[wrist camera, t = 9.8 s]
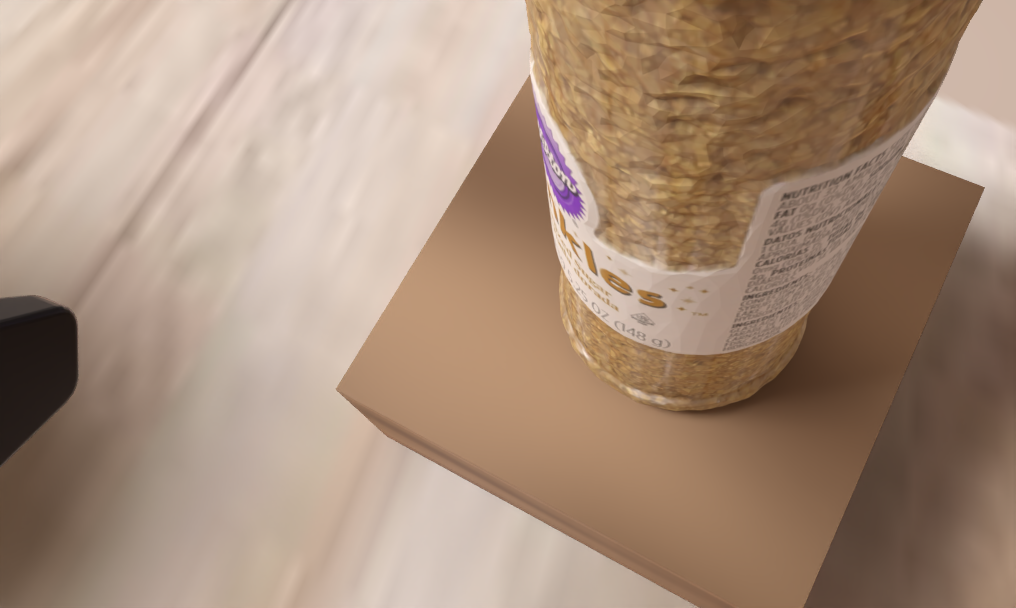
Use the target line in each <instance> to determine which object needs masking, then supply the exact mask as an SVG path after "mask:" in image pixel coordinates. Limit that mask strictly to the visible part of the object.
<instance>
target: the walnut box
mask: <svg viewBox="0 0 1016 608" xmlns="http://www.w3.org/2000/svg"><path fill="white" fill-rule="evenodd" d="M984 188H985V187H982V186H980V185H977V184H974V183H972V182H969V181H967V180H964V179H961V178H959V177H956V176H953V175H951V174H948V173H945V172H943V171H940V170H937V169H935V168H932V167H930V166H927V165H924V164H922V163H919V162H916V161H914V160H911V159H908V158H906V157H903V156H901V158H900V160H899V162H898V163H897V165H896V167H895V169H894V171H893V172H892V174H891V176H890V178H889V180H888V181H887V183H886V185H885V187H884V188H883V190H882V192H881V194H880V196H879V197H878V199H877V201H876V203H875V205H874V206H873V208H872V210H871V212H870V213H869V215H868V217H867V219H866V221H865V222H864V224H863V226H862V228H861V230H860V231H859V233H858V235H857V237H856V239H855V240H854V242H853V244H852V246H851V248H850V249H849V251H848V253H847V255H846V257H845V258H844V260H843V262H842V264H841V265H840V267H839V269H838V271H837V273H836V274H835V276H834V278H833V280H832V282H831V283H830V285H829V287H828V288H827V289H826V291H825V292H824V294H823V295H822V296H821V298H820V299H819V301H818V302H817V304H816V305H815V306H814V307H813V308H812V309H811V311H810V313H809V315H808V318H807V324H806V329H805V332H804V335H803V338H802V340H801V342H800V344H799V346H798V349H797V351H796V352H795V354H794V356H793V357H792V359H791V360H790V361H789V363H788V364H787V365H786V366H785V368H784V369H783V370H782V371H781V372H780V373H779V374H778V375H777V376H776V377H775V378H774V379H773V380H771V381H770V382H768V383H767V384H765V385H764V386H763V387H761V388H760V389H759V390H758V391H757V392H756V393H754V394H753V395H752V396H751V397H749V398H746V399H743V400H740V401H737V402H734V403H730V404H727V405H725V406H721V407H715V408H712V409H706V410H682V411H672V410H666V409H661V408H658V407H654V406H650V405H645V404H641V403H637V402H636V401H634V400H632V399H631V398H629V397H627V396H625V395H623V394H621V393H620V392H618V391H617V390H615V389H614V388H612V387H611V386H609V385H608V384H606V383H605V382H603V381H602V380H600V379H599V378H598V377H597V376H596V375H595V374H594V373H593V372H592V371H591V370H590V369H589V367H588V366H587V365H586V364H585V363H584V361H583V360H582V359H581V357H580V356H579V355H578V354H577V353H576V351H575V350H574V348H573V347H572V344H571V341H570V338H569V335H568V333H567V331H566V329H565V326H564V324H563V321H562V317H561V310H560V296H559V282H560V274H561V269H562V268H561V264H560V260H559V258H558V254H557V251H556V247H555V242H554V236H553V231H552V224H551V216H550V208H549V200H548V192H547V180H546V173H545V166H544V160H543V153H542V147H541V140H540V134H539V127H538V120H537V114H536V107H535V101H534V94H533V88H532V82H531V76H530V75H529V77H528V78H527V80H526V82H525V83H524V85H523V86H522V88H521V90H520V91H519V93H518V95H517V96H516V98H515V99H514V101H513V103H512V104H511V106H510V107H509V109H508V111H507V112H506V114H505V116H504V117H503V119H502V120H501V122H500V124H499V125H498V127H497V129H496V130H495V132H494V133H493V135H492V137H491V138H490V140H489V142H488V143H487V145H486V146H485V148H484V150H483V151H482V153H481V155H480V156H479V158H478V159H477V161H476V163H475V164H474V166H473V168H472V169H471V171H470V172H469V174H468V176H467V177H466V179H465V181H464V182H463V184H462V185H461V187H460V189H459V190H458V192H457V193H456V195H455V197H454V198H453V200H452V202H451V203H450V205H449V206H448V208H447V210H446V211H445V213H444V215H443V216H442V218H441V219H440V221H439V223H438V224H437V226H436V228H435V229H434V231H433V232H432V234H431V236H430V237H429V239H428V241H427V242H426V244H425V245H424V247H423V249H422V250H421V252H420V254H419V255H418V257H417V258H416V260H415V262H414V263H413V265H412V267H411V268H410V270H409V271H408V273H407V275H406V276H405V278H404V279H403V281H402V283H401V284H400V286H399V288H398V289H397V291H396V292H395V294H394V296H393V297H392V299H391V301H390V302H389V304H388V305H387V307H386V309H385V310H384V312H383V314H382V315H381V317H380V318H379V320H378V322H377V323H376V325H375V327H374V328H373V330H372V331H371V333H370V335H369V336H368V338H367V340H366V341H365V343H364V344H363V346H362V348H361V349H360V351H359V353H358V354H357V356H356V357H355V359H354V361H353V362H352V364H351V365H350V367H349V369H348V370H347V372H346V374H345V375H344V377H343V378H342V380H341V382H340V383H339V385H338V387H337V388H336V390H337V391H338V392H339V393H340V394H341V395H342V396H343V397H345V398H346V399H347V400H348V401H349V402H350V403H351V404H352V405H353V406H354V407H355V408H357V409H358V410H359V411H360V412H361V413H362V414H363V415H364V416H365V417H366V418H367V419H369V420H370V421H371V422H372V423H373V424H374V425H375V426H376V427H377V428H378V429H379V430H381V431H382V432H383V433H384V434H385V435H386V436H387V437H389V438H391V439H393V440H395V441H396V442H398V443H400V444H402V445H404V446H405V447H407V448H409V449H411V450H413V451H415V452H416V453H418V454H420V455H422V456H424V457H426V458H427V459H429V460H431V461H433V462H435V463H437V464H438V465H440V466H442V467H444V468H446V469H448V470H449V471H451V472H453V473H455V474H457V475H458V476H460V477H462V478H464V479H466V480H468V481H469V482H471V483H473V484H475V485H477V486H479V487H480V488H482V489H484V490H486V491H488V492H490V493H491V494H493V495H495V496H497V497H499V498H500V499H502V500H504V501H506V502H508V503H510V504H511V505H513V506H515V507H517V508H519V509H521V510H522V511H524V512H526V513H528V514H530V515H532V516H533V517H535V518H537V519H539V520H541V521H543V522H544V523H546V524H548V525H550V526H552V527H553V528H555V529H557V530H559V531H561V532H563V533H564V534H566V535H568V536H570V537H572V538H574V539H575V540H577V541H579V542H581V543H583V544H585V545H586V546H588V547H590V548H592V549H594V550H595V551H597V552H599V553H601V554H603V555H605V556H606V557H608V558H610V559H612V560H614V561H616V562H617V563H619V564H621V565H623V566H625V567H627V568H628V569H630V570H632V571H634V572H636V573H638V574H639V575H641V576H643V577H645V578H647V579H648V580H650V581H652V582H654V583H656V584H658V585H659V586H661V587H663V588H665V589H667V590H669V591H670V592H672V593H674V594H676V595H678V596H680V597H681V598H683V599H685V600H687V601H689V602H691V603H692V604H694V605H696V606H698V607H700V608H803V607H804V605H805V603H806V600H807V598H808V596H809V593H810V591H811V589H812V587H813V584H814V582H815V580H816V577H817V575H818V573H819V570H820V568H821V566H822V563H823V561H824V559H825V556H826V554H827V552H828V549H829V547H830V545H831V543H832V540H833V538H834V536H835V533H836V531H837V529H838V526H839V524H840V522H841V519H842V517H843V515H844V512H845V510H846V508H847V505H848V503H849V501H850V499H851V496H852V494H853V492H854V489H855V487H856V485H857V482H858V480H859V478H860V475H861V473H862V471H863V468H864V466H865V464H866V462H867V459H868V457H869V455H870V452H871V450H872V448H873V445H874V443H875V441H876V438H877V436H878V434H879V431H880V429H881V427H882V424H883V422H884V420H885V418H886V415H887V413H888V411H889V408H890V406H891V404H892V401H893V399H894V397H895V394H896V392H897V390H898V387H899V385H900V383H901V380H902V378H903V376H904V374H905V371H906V369H907V367H908V364H909V362H910V360H911V357H912V355H913V353H914V350H915V348H916V346H917V343H918V341H919V339H920V336H921V334H922V332H923V330H924V327H925V325H926V323H927V320H928V318H929V316H930V313H931V311H932V309H933V306H934V304H935V302H936V299H937V297H938V295H939V292H940V290H941V288H942V286H943V283H944V281H945V279H946V276H947V274H948V272H949V269H950V267H951V265H952V262H953V260H954V258H955V255H956V253H957V251H958V249H959V246H960V244H961V242H962V239H963V237H964V235H965V232H966V230H967V228H968V225H969V223H970V221H971V218H972V216H973V214H974V211H975V209H976V207H977V205H978V202H979V200H980V198H981V195H982V193H983V191H984Z"/></svg>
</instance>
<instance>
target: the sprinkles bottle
mask: <svg viewBox="0 0 1016 608" xmlns="http://www.w3.org/2000/svg"><path fill="white" fill-rule="evenodd" d="M982 1H983V0H525V2H526V5H527V16H528V23H529V32H530V34H531V48H530V76H531V82H532V88H533V94H534V101H535V107H536V114H537V120H538V127H539V134H540V140H541V147H542V153H543V160H544V166H545V173H546V180H547V192H548V200H549V208H550V216H551V224H552V231H553V236H554V242H555V247H556V251H557V254H558V258H559V260H560V264H561V268H562V269H561V274H560V282H559V296H560V310H561V317H562V321H563V324H564V326H565V329H566V331H567V333H568V335H569V338H570V341H571V344H572V347H573V348H574V350H575V351H576V353H577V354H578V355H579V356H580V357H581V359H582V360H583V361H584V363H585V364H586V365H587V366H588V367H589V369H590V370H591V371H592V372H593V373H594V374H595V375H596V376H597V377H598V378H599V379H600V380H602V381H603V382H605V383H606V384H608V385H609V386H611V387H612V388H614V389H615V390H617V391H618V392H620V393H621V394H623V395H625V396H627V397H629V398H631V399H632V400H634V401H636V402H637V403H641V404H645V405H650V406H654V407H658V408H661V409H666V410H672V411H682V410H706V409H712V408H715V407H721V406H725V405H727V404H730V403H734V402H737V401H740V400H743V399H746V398H749V397H751V396H752V395H753V394H754V393H756V392H757V391H758V390H759V389H760V388H761V387H763V386H764V385H765V384H767V383H768V382H770V381H771V380H773V379H774V378H775V377H776V376H777V375H778V374H779V373H780V372H781V371H782V370H783V369H784V368H785V366H786V365H787V364H788V363H789V361H790V360H791V359H792V357H793V356H794V354H795V352H796V351H797V349H798V346H799V344H800V342H801V340H802V338H803V335H804V332H805V329H806V324H807V318H808V315H809V313H810V311H811V309H812V308H813V307H814V306H815V305H816V304H817V302H818V301H819V299H820V298H821V296H822V295H823V294H824V292H825V291H826V289H827V288H828V287H829V285H830V283H831V282H832V280H833V278H834V276H835V274H836V273H837V271H838V269H839V267H840V265H841V264H842V262H843V260H844V258H845V257H846V255H847V253H848V251H849V249H850V248H851V246H852V244H853V242H854V240H855V239H856V237H857V235H858V233H859V231H860V230H861V228H862V226H863V224H864V222H865V221H866V219H867V217H868V215H869V213H870V212H871V210H872V208H873V206H874V205H875V203H876V201H877V199H878V197H879V196H880V194H881V192H882V190H883V188H884V187H885V185H886V183H887V181H888V180H889V178H890V176H891V174H892V172H893V171H894V169H895V167H896V165H897V163H898V162H899V160H900V158H901V156H902V154H903V153H904V151H905V149H906V147H907V146H908V144H909V142H910V140H911V139H912V137H913V135H914V133H915V132H916V130H917V128H918V126H919V124H920V123H921V121H922V119H923V117H924V116H925V114H926V112H927V110H928V109H929V107H930V105H931V104H932V102H933V100H934V99H935V97H936V95H937V93H938V91H939V89H940V87H941V85H942V83H943V81H944V79H945V77H946V75H947V73H948V70H949V68H950V65H951V63H952V61H953V58H954V56H955V53H956V50H957V47H958V43H959V41H960V39H961V37H962V35H963V33H964V31H965V30H966V28H967V26H968V24H969V22H970V20H971V19H972V17H973V16H974V14H975V13H976V11H977V10H978V8H979V6H980V4H981V2H982Z"/></svg>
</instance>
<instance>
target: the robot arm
mask: <svg viewBox="0 0 1016 608" xmlns="http://www.w3.org/2000/svg"><path fill="white" fill-rule="evenodd" d="M78 375H79V373H78V324H77V319H76V317H75V315H74V312H73V311H72V310H70V309H69V308H68V307H66V306H64V305H61V304H59V303H56V302H54V301H52V300H49V299H47V298H44V297H41V296H36V295H28V296H17V297H6V298H0V467H1V466H2V465H3V464H4V463H5V462H6V461H7V460H8V459H10V458H11V457H12V456H13V455H14V454H15V453H16V452H17V451H18V450H19V449H20V448H21V447H22V446H23V445H24V444H25V443H26V442H27V441H28V440H29V439H30V438H31V437H32V436H33V435H34V434H35V433H36V432H37V431H38V430H39V429H40V428H41V427H42V426H43V425H44V424H45V423H46V422H47V421H48V420H49V419H50V418H51V417H52V416H53V415H54V414H55V413H56V412H57V411H58V410H59V409H60V408H61V407H62V406H63V405H64V404H65V403H66V402H67V401H68V400H69V399H70V397H71V396H72V394H73V393H74V390H75V388H76V386H77V382H78Z"/></svg>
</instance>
